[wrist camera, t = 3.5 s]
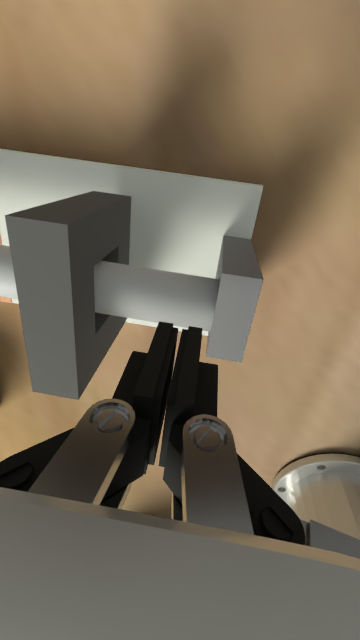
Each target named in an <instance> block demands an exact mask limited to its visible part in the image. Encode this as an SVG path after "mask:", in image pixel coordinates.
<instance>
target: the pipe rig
mask: <svg viewBox="0 0 360 640" xmlns="http://www.w3.org/2000/svg"><path fill="white" fill-rule="evenodd" d="M91 191H98V192H105V193H112V194H118V195H125V196H131V221H130V249H129V265H125V264H119V263H113V262H106V261H100V262H98V263H97V264H96V265H95V266H94V297H95V312H96V313H102V314H108V315H114V316H120V317H126V318H127V320H126V321H125V322H129V323H135V324H141V325H147V326H153V327H157V326H158V323H159V321H161V322H167V323H173V327H175V328H178V331H182V329H187V330H188V327H189V326H192V327H198V328H203V329H202V335H206V336H208V341H207V351H206V356H207V357H212V358H218V359H224V360H230V361H235V362H242V358H243V354H244V350H245V347H246V343H247V339H248V335H249V332H250V328H251V324H252V321H253V317H254V313H255V309H256V306H257V302H258V298H259V295H260V291H261V287H262V283H263V276H262V273H261V270H260V267H259V263H258V260H257V257H256V253H255V250H254V247H253V244H252V240H251V238H252V234H253V229H254V225H255V221H256V217H257V212H258V208H259V204H260V199H261V195H262V191H263V185H260V184H253V183H245V182H238V181H231V180H224V179H217V178H209V177H202V176H195V175H188V174H181V173H173V172H166V171H159V170H152V169H145V168H137V167H130V166H123V165H116V164H109V163H101V162H94V161H87V160H80V159H73V158H65V157H58V156H51V155H44V154H37V153H29V152H22V151H15V150H8V149H1V148H0V301H2V302H8V303H17V304H19V302H18V295H17V289H16V283H15V277H14V270H13V264H12V258H11V252H10V245H9V239H8V233H7V226H6V220H5V215H7V214H11V213H15V212H18V211H22V210H26V209H29V208H33V207H37V206H40V205H44V204H47V203H51V202H55V201H58V200H62V199H66V198H69V197H73V196H77V195H80V194H84V193H87V192H91Z"/></svg>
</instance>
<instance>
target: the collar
mask: <svg viewBox="0 0 360 640" xmlns="http://www.w3.org/2000/svg"><path fill="white" fill-rule="evenodd" d="M5 220H6V226H7V233H8V239H9V245H10V252H11V258H12V264H13V270H14V277H15V283H16V289H17V295H18V302H19V308H20V314H21V321H22V327H23V333H24V339H25V346H26V352H27V358H28V364H29V371H30V377H31V383H32V389H33V392H39V393H44V394H50V395H55V396H60V397H66V398H71V399H76V400H79V398H80V397H81V395H82V393H83V392H84V390H85V388H86V387H87V385H88V383H89V382H90V380H91V378H92V377H93V375H94V373H95V372H96V370H97V368H98V367H99V365H100V363H101V362H102V360H103V358H104V357H105V355H106V353H107V352H108V350H109V348H110V347H111V345H112V343H113V342H114V340H115V338H116V336H117V335H118V333H119V331H120V330H121V328H122V326H123V325H124V323H125V321H126V320H127V318H126V317H120V316H114V315H108V314H102V313H96V312H95V297H94V266H95V265H96V264H97V263H98V262H100V261H106V262H113V263H119V264H125V265H129V249H130V221H131V196H125V195H118V194H112V193H105V192H98V191H91V192H87V193H84V194H80V195H77V196H73V197H69V198H66V199H62V200H58V201H55V202H51V203H47V204H44V205H40V206H37V207H33V208H29V209H26V210H22V211H18V212H15V213H11V214H7V215H5Z"/></svg>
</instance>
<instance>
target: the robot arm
mask: <svg viewBox="0 0 360 640" xmlns="http://www.w3.org/2000/svg"><path fill="white" fill-rule="evenodd" d="M202 329H203V328H198V327H192V326H189V327H188V330H187V329H182V334H181V338H180V343H179V348H178V352H177V357H176V362H175V366H174V371H173V365H174V357H175V349H176V342H177V334H178V328H175V327H173V323H167V322H161V321H159V323H158V326H157V329H156V332H155V334H154V337H153V340H152V343H151V346H150V348H149V351H148V353H143V352H137V351H133V352H132V354H131V356H130V358H129V361H128V363H127V365H126V368H125V370H124V372H123V375H122V377H121V379H120V381H119V384H118V386H117V388H116V391H115V393H114V395H113V398H112V399H104V400H101V401H98V402H96V403H95V404H93V405H92V406H91V407H90V408H89V409H88V410H87V411H86V412H85V414H84V415H83V417H82V418H81V419H80V421H79V422H78V423H77V425H76V426H75V427H74V428H72V429H70V430H68V431H66V432H63V433H61V434H59V435H57V436H54V437H52V438H50V439H48V440H46V441H43V442H41V443H39V444H37V445H34V446H32V447H30V448H28V449H26V450H23V451H21V452H19V453H17V454H14V455H12V456H10V457H8V458H6V459H5V460H3V461H1V462H0V640H360V457H357V456H351V455H346V454H319V455H314V456H309V457H306V458H303V459H300V460H297V461H295V462H293V463H291V464H289V465H288V466H286V467H285V468H284V469H282V470H281V471H280V472H279V473H278V475H277V476H276V477H275V479H274V481H273V484H272V488H271V487H270V486H269V485H268V484H267V483H266V482H265V481H264V480H263V479H262V478H261V477H260V476H259V475H258V474H257V473H256V472H255V471H254V470H253V469H252V468H251V467H250V466H249V465H248V464H247V463H246V462H245V461H244V460H243V459H242V458H241V457H240V456H239V455H238V454H237V452H236V448H235V443H234V438H233V434H232V432H231V429H230V428H229V427H228V425H227V424H226V423H225V422H223V421H222V420H221V419H219V418H217V392H218V365H215V364H209V363H203V362H199V358H200V348H201V339H202ZM172 372H173V376H172ZM165 410H166V414H165ZM164 415H165V422H164V430H163V437H162V445H161V453H160V461H159V466H162V467H165V469H164V476H163V480H164V481H165V483H166V484H167V485H168V487H169V488H170V489H171V491H172V496H171V519H168V518H163V517H158V516H153V515H147V514H142V513H137V512H132V511H126V510H121V509H122V507H123V505H124V503H125V500H126V498H127V496H128V493H129V491H130V488H131V484H132V482H133V481H135V480H136V479H138V478H139V477H141V476H143V474H146V470H147V466H148V464H151V465H154V462H155V458H156V453H157V448H158V443H159V439H160V434H161V429H162V425H163V420H164Z"/></svg>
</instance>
